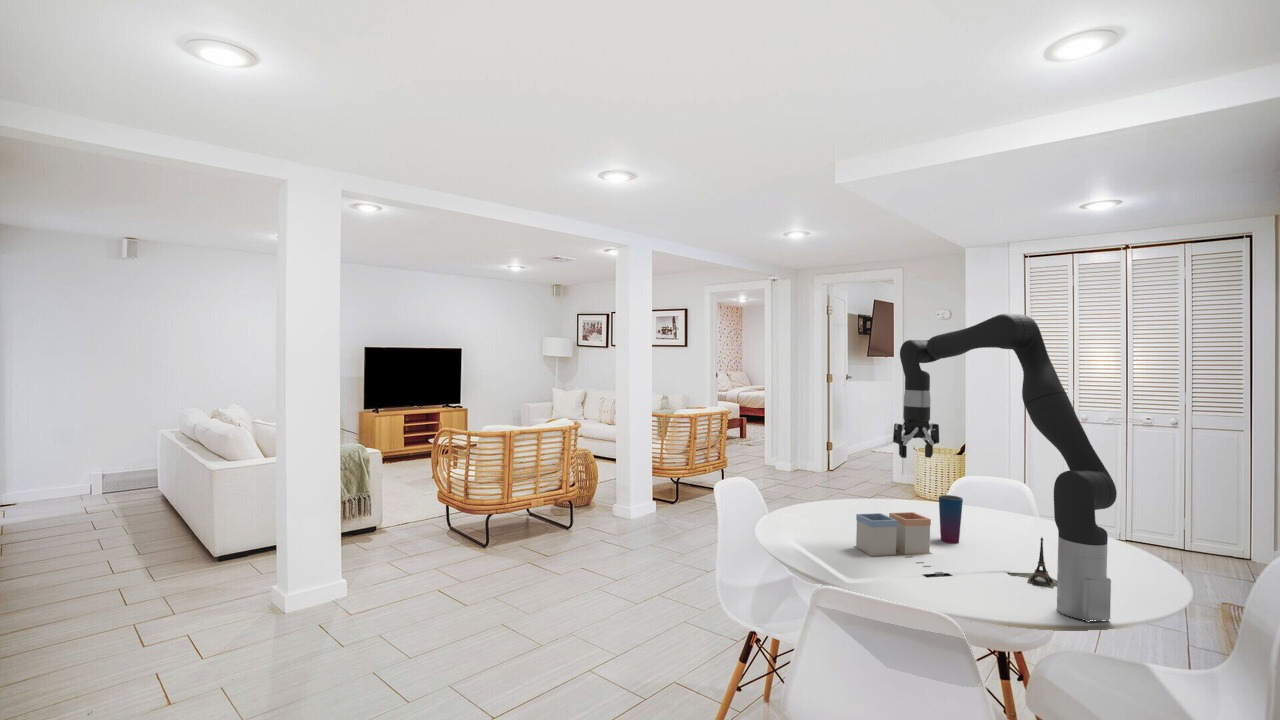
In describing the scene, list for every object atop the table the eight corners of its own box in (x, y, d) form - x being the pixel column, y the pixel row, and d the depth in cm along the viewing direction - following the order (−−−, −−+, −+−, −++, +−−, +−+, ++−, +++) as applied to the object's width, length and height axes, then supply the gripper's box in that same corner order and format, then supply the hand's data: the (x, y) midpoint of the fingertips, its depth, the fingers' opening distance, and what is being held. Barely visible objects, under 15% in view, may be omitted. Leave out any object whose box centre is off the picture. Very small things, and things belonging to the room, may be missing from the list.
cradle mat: (953, 576, 165) (953, 572, 165) (926, 578, 164) (926, 573, 164) (920, 559, 179) (920, 555, 179) (895, 561, 177) (895, 556, 177)
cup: (964, 548, 190) (965, 500, 190) (941, 547, 192) (942, 499, 191) (958, 542, 197) (959, 495, 197) (935, 540, 198) (936, 494, 198)
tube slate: (896, 554, 179) (897, 520, 179) (870, 555, 178) (871, 521, 178) (880, 546, 187) (881, 513, 187) (855, 547, 186) (856, 514, 186)
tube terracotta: (930, 553, 182) (930, 519, 181) (905, 554, 180) (905, 520, 180) (912, 544, 190) (913, 512, 190) (888, 545, 188) (889, 513, 188)
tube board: (933, 558, 181) (933, 553, 181) (871, 561, 177) (871, 556, 177) (911, 547, 191) (912, 543, 191) (852, 550, 187) (852, 546, 187)
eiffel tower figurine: (1084, 595, 155) (1085, 542, 155) (1047, 596, 154) (1048, 543, 154) (1039, 574, 170) (1040, 526, 170) (1005, 575, 169) (1006, 526, 169)
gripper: (903, 405, 184) (902, 459, 184) (945, 406, 187) (944, 459, 187) (888, 403, 192) (887, 455, 192) (929, 404, 194) (928, 455, 194)
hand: (915, 457), depth 189 cm, fingers open, 8 cm apart
